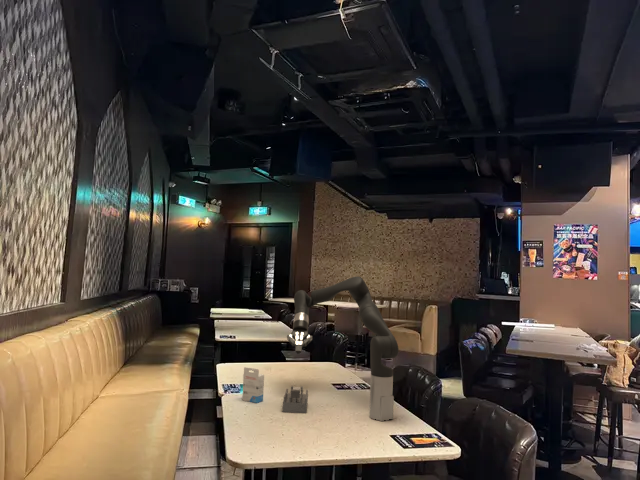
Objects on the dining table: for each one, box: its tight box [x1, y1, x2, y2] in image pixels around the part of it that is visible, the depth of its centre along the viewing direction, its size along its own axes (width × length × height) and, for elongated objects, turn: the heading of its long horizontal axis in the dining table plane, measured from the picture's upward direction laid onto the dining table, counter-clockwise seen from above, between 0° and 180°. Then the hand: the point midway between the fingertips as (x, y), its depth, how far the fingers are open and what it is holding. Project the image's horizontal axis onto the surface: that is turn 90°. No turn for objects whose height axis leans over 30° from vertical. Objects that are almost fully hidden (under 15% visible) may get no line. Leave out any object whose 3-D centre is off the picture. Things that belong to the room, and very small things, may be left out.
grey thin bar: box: [293, 386, 301, 391], centre depth 202 cm, size 1×3×11 cm
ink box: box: [241, 367, 265, 404], centre depth 209 cm, size 9×5×15 cm, turn 62°
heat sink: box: [282, 385, 309, 414], centre depth 201 cm, size 15×10×9 cm, turn 0°
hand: (298, 352), depth 217 cm, fingers closed
